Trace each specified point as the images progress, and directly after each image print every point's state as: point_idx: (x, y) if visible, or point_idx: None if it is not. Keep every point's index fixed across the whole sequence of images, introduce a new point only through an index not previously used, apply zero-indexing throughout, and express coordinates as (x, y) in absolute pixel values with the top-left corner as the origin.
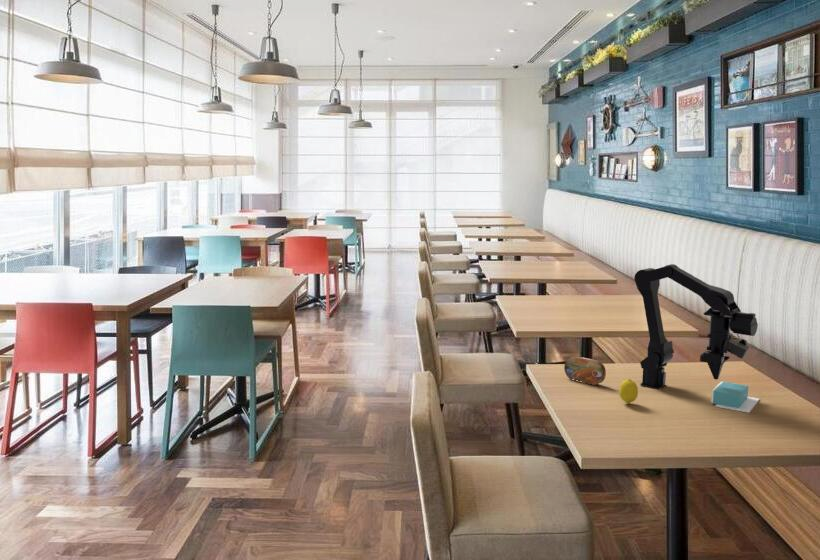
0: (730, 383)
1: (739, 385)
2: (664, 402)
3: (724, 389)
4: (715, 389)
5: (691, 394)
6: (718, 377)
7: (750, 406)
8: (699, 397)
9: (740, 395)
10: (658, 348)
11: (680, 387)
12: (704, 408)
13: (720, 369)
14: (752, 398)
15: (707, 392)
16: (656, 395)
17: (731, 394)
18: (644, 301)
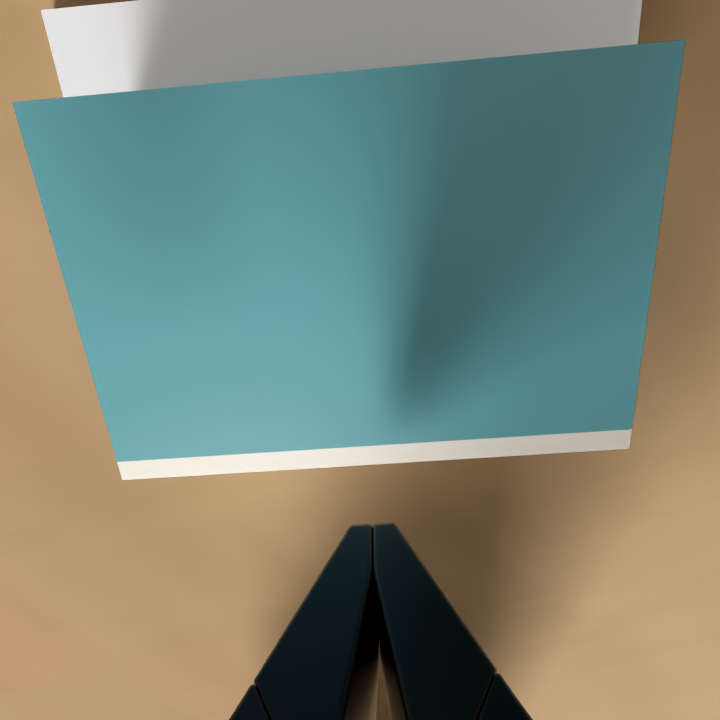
0: (127, 365)
1: (121, 229)
2: (693, 641)
3: (481, 341)
4: (552, 430)
5: None
6: (365, 538)
7: (433, 2)
8: (408, 507)
9: (623, 50)
10: None
11: (251, 669)
12: (704, 387)
13: (348, 683)
14: (103, 87)
15: (222, 502)
16: (554, 716)
17: (655, 188)
18: None
